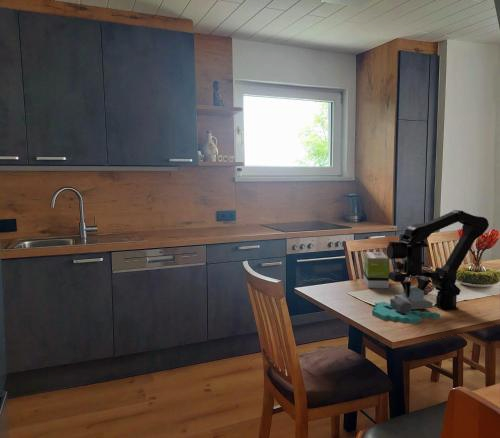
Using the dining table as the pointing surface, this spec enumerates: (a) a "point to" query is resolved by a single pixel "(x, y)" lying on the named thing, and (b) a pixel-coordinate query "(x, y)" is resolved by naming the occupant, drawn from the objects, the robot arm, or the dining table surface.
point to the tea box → (376, 270)
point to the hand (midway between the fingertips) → (413, 297)
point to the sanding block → (416, 299)
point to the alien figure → (400, 314)
